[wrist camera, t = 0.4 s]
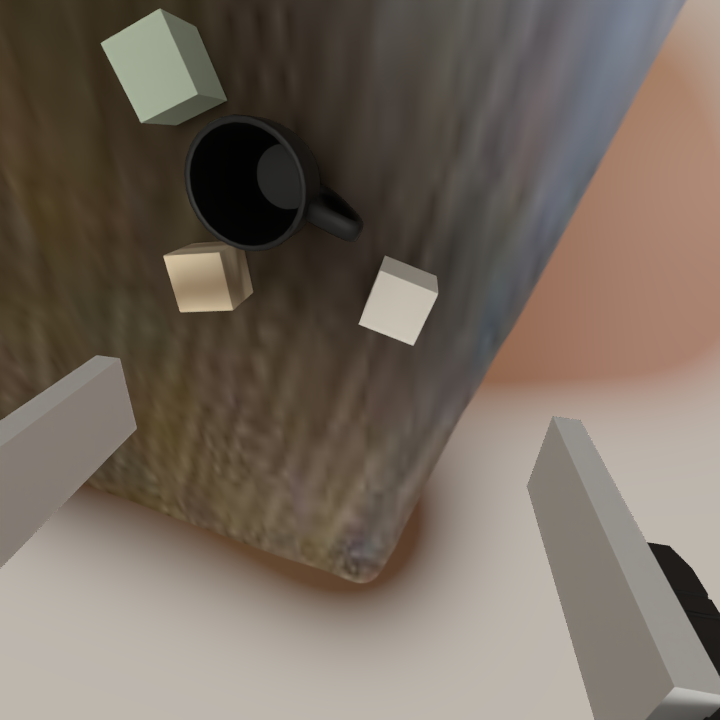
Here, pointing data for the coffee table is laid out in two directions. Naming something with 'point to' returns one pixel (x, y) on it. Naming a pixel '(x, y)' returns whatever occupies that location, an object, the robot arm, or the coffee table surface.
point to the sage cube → (164, 69)
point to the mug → (260, 185)
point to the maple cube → (209, 276)
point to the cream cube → (399, 300)
